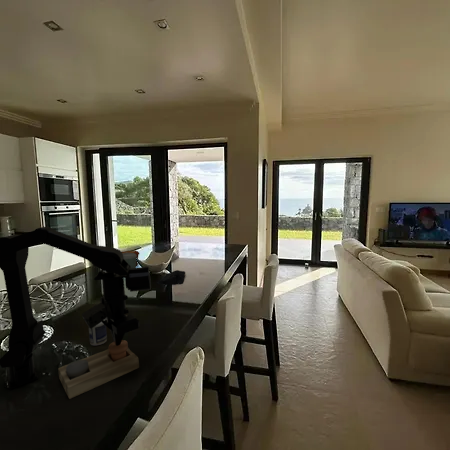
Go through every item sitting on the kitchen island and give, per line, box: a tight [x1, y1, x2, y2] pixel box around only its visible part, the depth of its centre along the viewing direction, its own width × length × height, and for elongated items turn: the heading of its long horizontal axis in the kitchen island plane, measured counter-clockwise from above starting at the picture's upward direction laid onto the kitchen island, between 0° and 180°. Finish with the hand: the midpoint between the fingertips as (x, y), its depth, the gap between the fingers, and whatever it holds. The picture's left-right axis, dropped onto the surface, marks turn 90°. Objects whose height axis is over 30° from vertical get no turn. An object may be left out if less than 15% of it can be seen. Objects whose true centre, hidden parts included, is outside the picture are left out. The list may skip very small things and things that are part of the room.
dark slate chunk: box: [156, 269, 186, 286], centre depth 167 cm, size 15×22×5 cm
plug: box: [66, 359, 89, 380], centre depth 74 cm, size 5×5×5 cm
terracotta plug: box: [108, 339, 129, 362], centre depth 81 cm, size 5×5×5 cm
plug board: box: [57, 348, 140, 400], centre depth 78 cm, size 11×18×3 cm, turn 132°
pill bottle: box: [88, 319, 108, 346], centre depth 95 cm, size 5×5×10 cm
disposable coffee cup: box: [122, 253, 137, 268], centre depth 175 cm, size 11×11×15 cm
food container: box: [121, 250, 140, 267], centre depth 202 cm, size 16×16×11 cm
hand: (117, 344), depth 81 cm, fingers closed, pressing on terracotta plug
